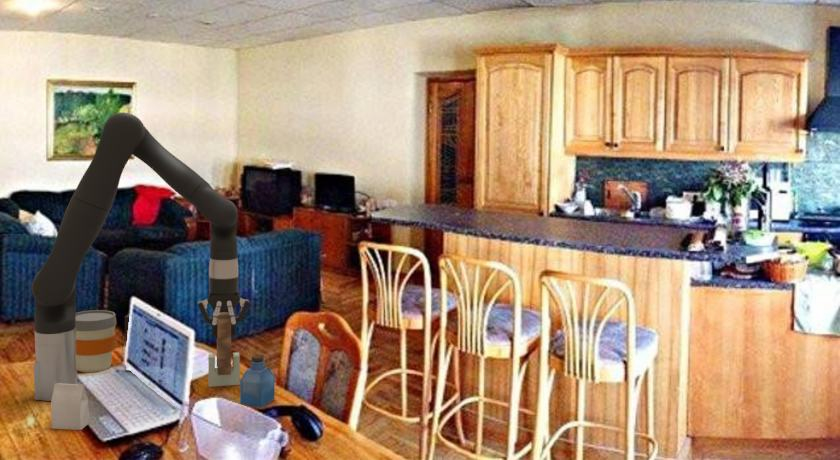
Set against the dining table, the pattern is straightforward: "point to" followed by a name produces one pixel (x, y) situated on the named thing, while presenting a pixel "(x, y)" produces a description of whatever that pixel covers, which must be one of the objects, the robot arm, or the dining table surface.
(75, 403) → the grey box
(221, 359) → the walnut plate
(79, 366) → the reusable coffee cup
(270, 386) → the perfume bottle
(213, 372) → the slotted stand
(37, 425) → the dining table surface
